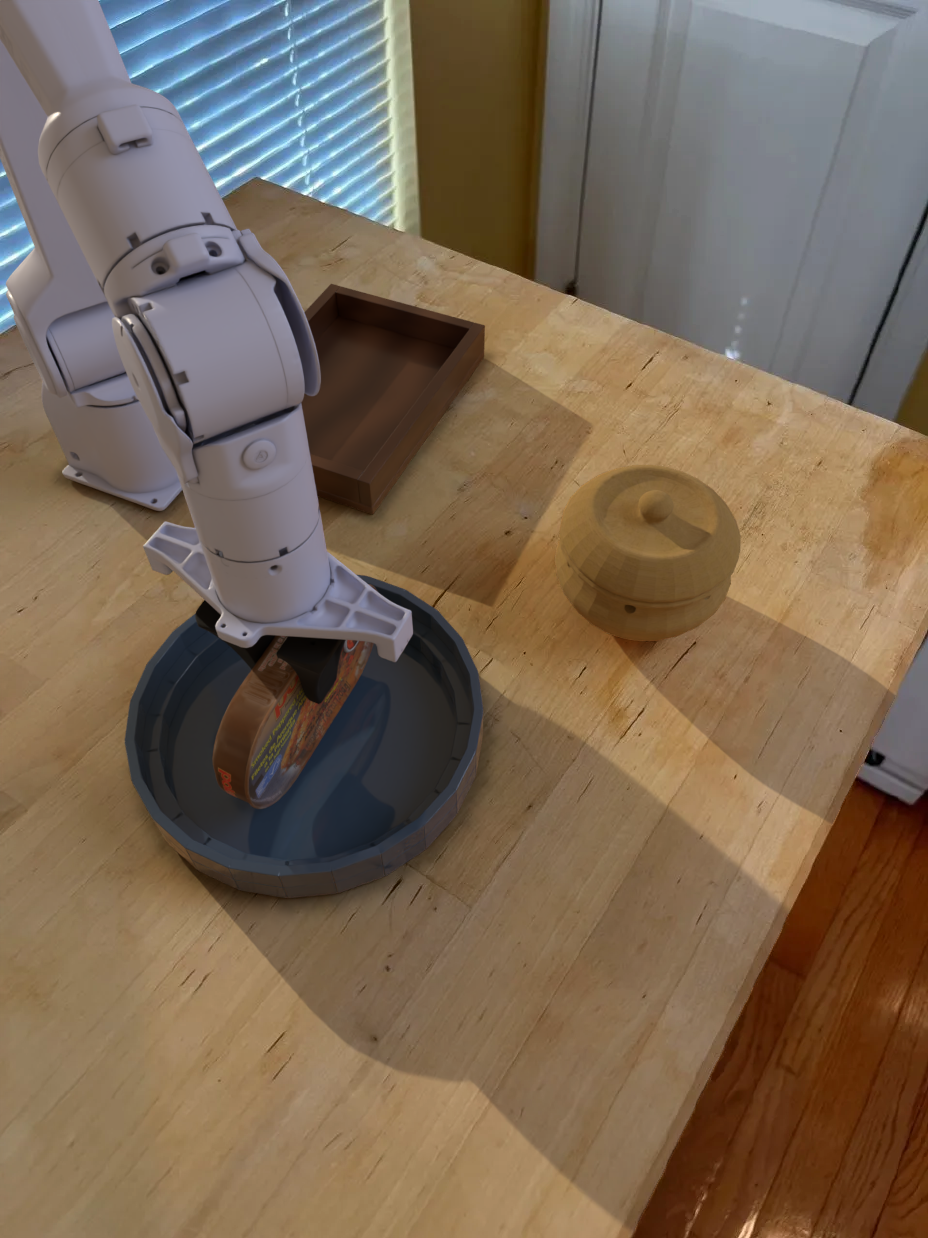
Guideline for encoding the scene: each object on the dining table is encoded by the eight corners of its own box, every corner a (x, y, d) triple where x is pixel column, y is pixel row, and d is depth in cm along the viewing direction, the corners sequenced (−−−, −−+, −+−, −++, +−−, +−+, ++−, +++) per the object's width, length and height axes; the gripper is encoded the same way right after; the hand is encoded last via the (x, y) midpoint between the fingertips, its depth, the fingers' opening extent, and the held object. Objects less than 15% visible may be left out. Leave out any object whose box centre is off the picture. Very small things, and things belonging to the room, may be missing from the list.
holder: (205, 458, 75) (196, 426, 72) (335, 315, 86) (330, 283, 84) (373, 515, 71) (369, 483, 68) (484, 357, 82) (485, 324, 80)
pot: (730, 556, 68) (765, 453, 60) (705, 685, 61) (741, 589, 54) (572, 521, 70) (586, 417, 63) (532, 641, 64) (541, 542, 56)
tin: (262, 833, 54) (245, 768, 47) (215, 810, 54) (192, 743, 48) (384, 640, 62) (385, 561, 55) (342, 622, 63) (338, 541, 56)
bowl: (69, 812, 56) (49, 785, 53) (259, 566, 68) (250, 533, 65) (385, 961, 51) (381, 939, 48) (532, 666, 62) (535, 635, 60)
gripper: (76, 526, 43) (153, 688, 54) (354, 631, 39) (378, 782, 50) (166, 432, 47) (222, 600, 58) (427, 519, 43) (434, 682, 54)
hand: (299, 679), depth 54 cm, fingers closed on tin, 2 cm apart
